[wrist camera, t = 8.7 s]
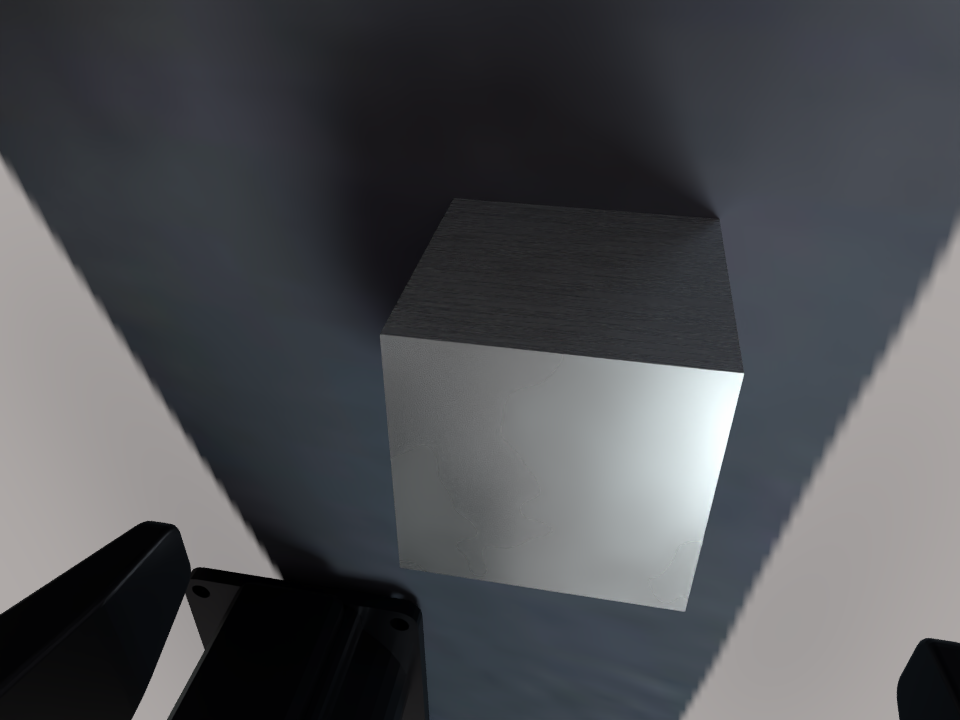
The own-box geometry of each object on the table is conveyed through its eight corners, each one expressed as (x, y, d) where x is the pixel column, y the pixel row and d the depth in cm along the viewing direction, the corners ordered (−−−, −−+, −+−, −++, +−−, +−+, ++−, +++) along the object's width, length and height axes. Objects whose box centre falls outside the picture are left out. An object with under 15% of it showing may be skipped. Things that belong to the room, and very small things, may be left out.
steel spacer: (677, 424, 15) (684, 611, 12) (457, 399, 16) (400, 567, 12) (719, 216, 13) (744, 373, 9) (454, 196, 13) (379, 334, 10)
